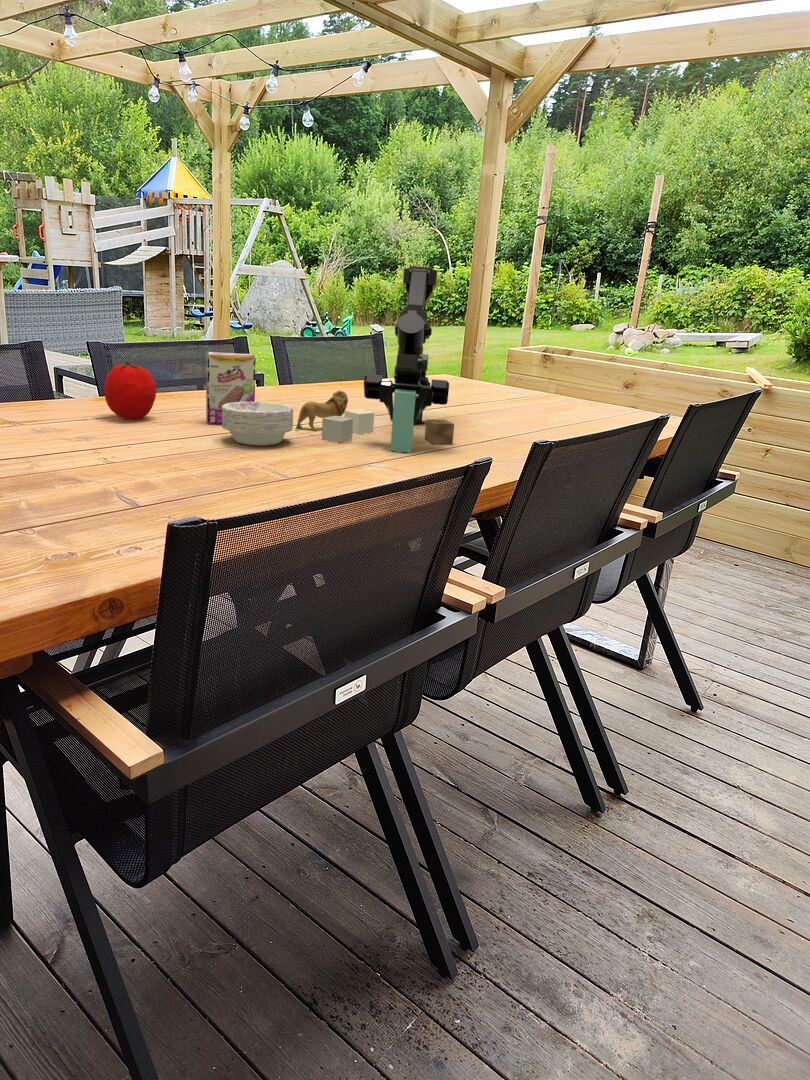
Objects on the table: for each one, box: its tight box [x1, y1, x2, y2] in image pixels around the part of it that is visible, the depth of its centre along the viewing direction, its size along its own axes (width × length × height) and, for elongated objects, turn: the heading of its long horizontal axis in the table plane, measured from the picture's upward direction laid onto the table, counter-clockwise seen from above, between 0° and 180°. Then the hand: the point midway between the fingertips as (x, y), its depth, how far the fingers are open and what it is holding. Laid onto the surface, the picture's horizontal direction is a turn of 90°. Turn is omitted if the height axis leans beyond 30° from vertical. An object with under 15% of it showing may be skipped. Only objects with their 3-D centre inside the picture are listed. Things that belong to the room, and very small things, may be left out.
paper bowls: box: [221, 401, 294, 447], centre depth 167 cm, size 15×15×8 cm
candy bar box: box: [205, 351, 256, 425], centre depth 182 cm, size 11×5×16 cm, turn 108°
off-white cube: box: [344, 408, 375, 435], centre depth 185 cm, size 5×5×5 cm
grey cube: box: [321, 416, 353, 444], centre depth 175 cm, size 5×5×5 cm
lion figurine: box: [294, 390, 349, 432], centre depth 185 cm, size 15×5×9 cm, turn 131°
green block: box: [390, 389, 416, 454], centre depth 168 cm, size 4×4×13 cm
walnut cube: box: [424, 419, 455, 446], centre depth 181 cm, size 5×5×5 cm
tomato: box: [103, 361, 158, 421], centre depth 179 cm, size 12×12×13 cm
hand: (403, 420), depth 167 cm, fingers closed on green block, 4 cm apart
